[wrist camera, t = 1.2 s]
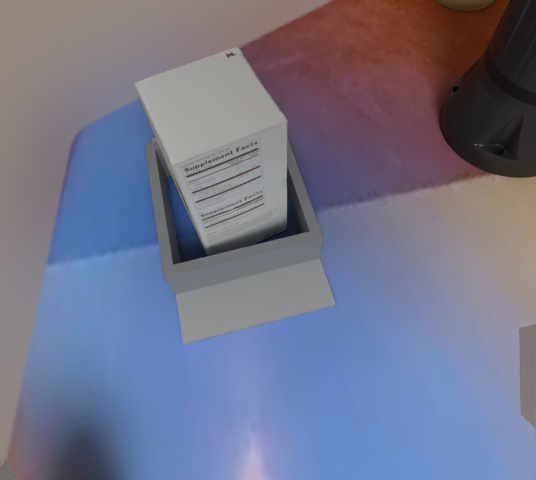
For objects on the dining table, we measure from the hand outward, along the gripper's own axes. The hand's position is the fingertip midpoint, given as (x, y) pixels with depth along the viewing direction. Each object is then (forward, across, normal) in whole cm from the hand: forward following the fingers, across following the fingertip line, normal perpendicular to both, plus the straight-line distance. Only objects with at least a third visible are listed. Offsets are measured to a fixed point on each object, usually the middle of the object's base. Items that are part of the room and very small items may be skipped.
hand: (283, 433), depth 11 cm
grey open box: (+37, 0, -2) cm, 37 cm away
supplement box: (+37, 0, -3) cm, 37 cm away
